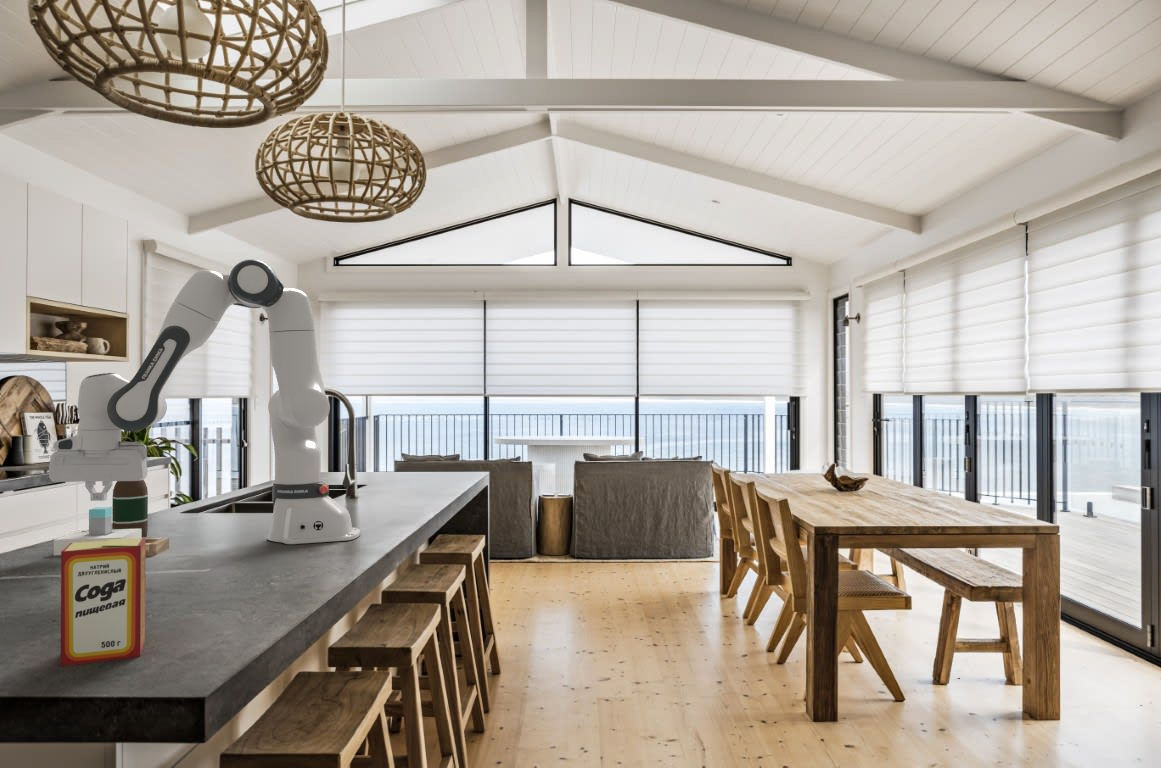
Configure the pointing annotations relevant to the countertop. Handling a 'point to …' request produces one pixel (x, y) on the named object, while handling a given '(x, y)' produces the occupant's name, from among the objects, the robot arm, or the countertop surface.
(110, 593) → the baking soda box
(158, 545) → the square wooden tray
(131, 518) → the beer bottle
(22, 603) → the countertop surface
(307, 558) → the countertop surface
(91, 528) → the plug
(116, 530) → the port
